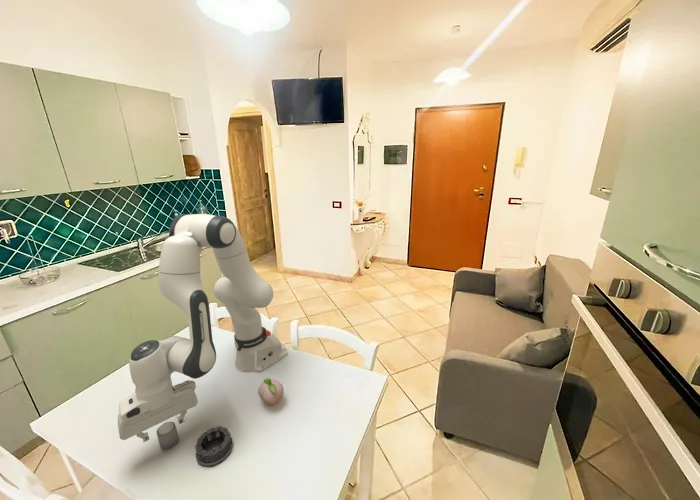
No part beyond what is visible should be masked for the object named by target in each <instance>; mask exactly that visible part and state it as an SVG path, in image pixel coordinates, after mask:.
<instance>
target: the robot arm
mask: <svg viewBox="0 0 700 500" xmlns="http://www.w3.org/2000/svg"><path fill="white" fill-rule="evenodd" d="M203 248H204V249H205V248H206V249H208V248H209V249H211V248H212V250H213V254H214V257H215V260H216V262H217V265H218V267H219V270H220V273H221V274H222V275H223V276H222V277H220V278H218V280H217V281H216V282H215V284H214V286H213V294H214V296H215V298H216V299H218V301H220V302H221V303H222V305H223V306H224V307H225V308H226V310H227V312H228V314H229V316H230V318H231V321H232V325H233V330H234V331H233V332H234V334H233V335H234V336H233V338H234V346H235V350H236V353H235V354H236V356H235V362H234V366H235V368H236V369H237V370H238V371H240V372H241V371H242V372H255V373H256V372H257V373H262V372H264V371H265V370H267V369H268V368H270V367H271V366H273V365H274V364H275V363H276V364H277V362H279V361H280V360H282V359H283V358H285V357H286V356H287V355H288V353H289V352H288V349H287V347H286V345H285V344H284V343H282V342H281V341H280V339H279V338H278V337H276V336H275V335H274V334H272V332H271V331H270V330H268V329H267V328H266V327H264V326H263V324H262V316H261V314H260V312H259V310H257V309H262V308H266V307H268V306H269V305H270V304H271V302H272V301H273V299H274V289H273V287H272V286H271V284H270V283H268V282H266V281H265V280H264V279H263V278H262V277H261V276H260V275H259V273H258V272H257V271H256V270H255V268H254V267H253V265H252V263H251V261H250V258H249V255H248V252H247V248H246V245H245V242H244V240H243V237H242V235H241V232H240V231H239V229H238V227H237V225H236V224H235V223H234V222H233V221H232V220H231V219H230V218H228V217H226V216H222V215H213V214H208V213H196V214H195V213H183V214H179V215H177V216H175V217H174V218H173V219H172V221H171V223H170V225H169V234H168V237H167V238H166V239H165V240H164V241H163V244H162V247H161V250H160V251H161V252H160V256H159V264H158V277H157V278H158V287H159V291H160V293H161V294H162V295H163V296H164V298H165V299H167V300H169V301H170V302H171V303H174V304H175V305H176V306H177V307H179V308H180V310H182V311H183V313H184V314H185V316H186V318H187V322H188V329H189V330H188V331H189V338H186V337H182V336H178V335H172V336H169V337H166V338H165V339H163V340H156V339H152V340H151V339H150V340H147V341H144V342H141V343H140V344H138V345H137V346H136V347H134V349H132V351H131V353H130V355H129V361H128V363H129V364H128V365H129V366H128V367H129V372H130V378H131V380H132V383H133V385H134V386H135V390H134V392H132V393H130V394H129V395H128V396H126V397H124V398H123V399H122V400H120V401H119V404H118V415H117V428H118V435H119V439H120V440H121V441H122V440H123V441H125V440H128V439H130V438H132V437H134V436H136V437H138V438H139V439H142V441H143V443H146V442H148V441H149V440H150V436H149V432H148V431H147V430H149V429H150V428H153V427H155V426H157V425H159V424H161V423H163V422H165V421H168V420H169V419H171V418H174V417H176V416H177V421H178V424H179V425H181V424H183V423H185V417H186V415H187V411H188V410H190V409H192V408H194V407H196V406H197V405H198V403H199V399H198V396H197V394H196V387H197V385H196V382H195V381H194V380H189V379H188V380H185V381H183V382H181V383H177V384H175V385H173V382H172V378H171V375H172V374H173V373H174V372H177V373H180V374H183V375H185V376H187V377H189V378H190V379H199V378H201V377H203V376H205V375H207V374H208V373H210V372H211V371H212V369H213V368H214V366H215V364H216V361H217V350H216V347H215V344H214V341H213V334H212V333H213V331H212V321H211V312H210V304H209V303H210V302H209V299H208V296H207V294H206V293H205V291H204V288H203V285H202V284H203V283H202V280H201V253H202V251H203ZM178 415H179V416H178ZM144 431H146V432H144Z"/></svg>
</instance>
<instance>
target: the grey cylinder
mask: <svg viewBox="0 0 700 500" xmlns="http://www.w3.org/2000/svg"><path fill="white" fill-rule="evenodd" d="M156 436H157V439H158V443H159V447H160V449H161V450H162V451H169V450H171V449H173V448H174V447H176V446H177V445H178V443H179V442H180V441H179V434H178V431H177V426H176V423H175V422H174V421H166V422H164V423H162V424H161V425H160V426H159V427H158V428H157V429H156Z"/></svg>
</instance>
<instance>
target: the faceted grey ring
mask: <svg viewBox="0 0 700 500" xmlns="http://www.w3.org/2000/svg"><path fill="white" fill-rule="evenodd" d="M231 435H232V433H231V432H230V431H229V428H226V427H225V426H221V425H220V426H213V427H211V428H209V429H207V430H206V431H204V432H203V433H201V435H200V436H199V437H198V438H197V440H196V443H195V447H194V448H195V459H196V462H197V464H198V465H199V466H201V467H203V468H212V467H215V466H218V465H219V464H222V463H223V462H224V461H225V460H226V459H228V457H229V456H230V455H231V454H232V451H233V449H234V442H233V440H234V439H233V437H232V436H231Z"/></svg>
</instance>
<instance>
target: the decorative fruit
mask: <svg viewBox="0 0 700 500" xmlns="http://www.w3.org/2000/svg"><path fill="white" fill-rule="evenodd" d="M257 391H258V392H257V394H258V396H259V398H260V399H261V401H263V403H264V404H266V405H267V406H276V405H278V404H279V403H280V401H281V400H282V398H283V396H284V393H285V391H284V385H283V383H281V382H280V380H278V379H276V378H268V377H267V378H264V379H263V382H262V383H260V385H259V387H258V390H257Z"/></svg>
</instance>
